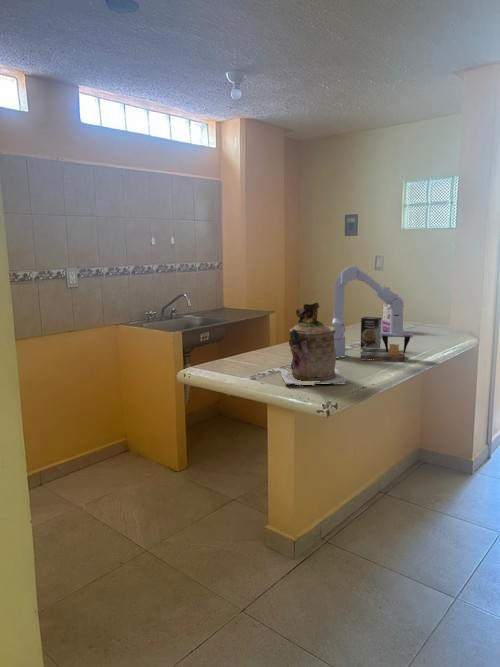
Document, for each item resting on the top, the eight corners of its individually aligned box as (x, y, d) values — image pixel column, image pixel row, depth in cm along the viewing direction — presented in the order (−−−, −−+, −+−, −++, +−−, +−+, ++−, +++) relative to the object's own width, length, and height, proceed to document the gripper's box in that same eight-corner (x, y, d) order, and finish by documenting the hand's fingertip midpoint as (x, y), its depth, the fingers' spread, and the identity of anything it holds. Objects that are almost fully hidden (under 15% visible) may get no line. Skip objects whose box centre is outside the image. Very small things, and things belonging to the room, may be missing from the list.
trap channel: (360, 359, 230) (360, 352, 229) (362, 354, 240) (362, 347, 240) (404, 361, 224) (404, 354, 224) (404, 356, 235) (404, 349, 234)
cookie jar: (335, 369, 215) (335, 296, 209) (348, 385, 191) (349, 304, 185) (279, 371, 215) (277, 298, 209) (285, 388, 191) (283, 306, 184)
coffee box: (360, 349, 252) (360, 318, 249) (363, 346, 257) (363, 316, 254) (378, 350, 247) (378, 319, 244) (381, 348, 253) (381, 317, 250)
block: (389, 355, 229) (389, 345, 228) (389, 353, 233) (389, 343, 232) (398, 355, 228) (398, 346, 227) (398, 353, 232) (398, 344, 231)
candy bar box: (401, 333, 288) (402, 305, 285) (394, 334, 286) (395, 306, 283) (388, 330, 298) (389, 303, 295) (382, 331, 296) (382, 304, 293)
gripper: (379, 324, 226) (379, 353, 228) (413, 325, 222) (412, 354, 224) (380, 322, 232) (380, 350, 235) (412, 322, 228) (411, 351, 231)
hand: (395, 352), depth 230 cm, fingers open, 7 cm apart
